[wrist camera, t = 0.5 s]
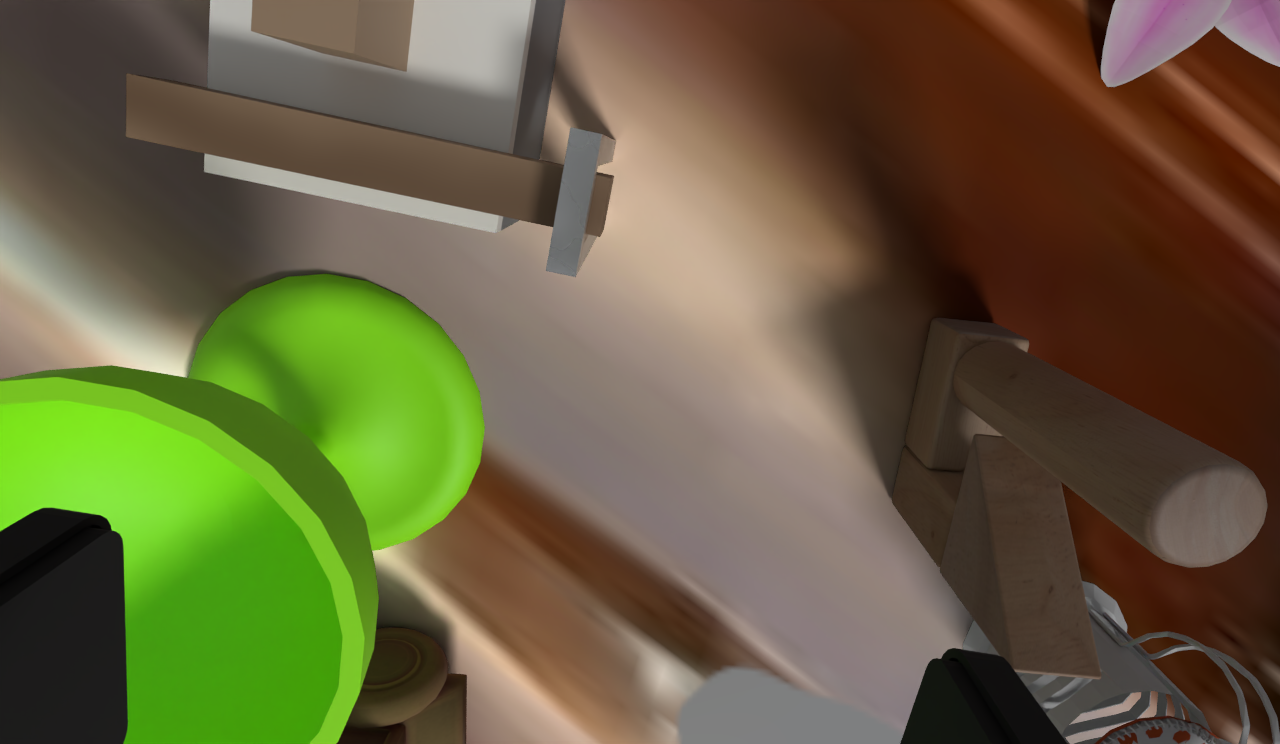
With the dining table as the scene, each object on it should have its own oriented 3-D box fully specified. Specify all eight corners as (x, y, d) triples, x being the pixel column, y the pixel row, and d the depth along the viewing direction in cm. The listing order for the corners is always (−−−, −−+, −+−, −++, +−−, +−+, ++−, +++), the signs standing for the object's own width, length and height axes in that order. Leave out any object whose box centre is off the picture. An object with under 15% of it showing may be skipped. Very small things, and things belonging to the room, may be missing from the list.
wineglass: (481, 279, 37) (344, 387, 20) (487, 555, 42) (380, 835, 25) (167, 267, 37) (-241, 366, 20) (208, 545, 42) (-95, 820, 25)
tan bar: (173, 80, 26) (126, 73, 24) (613, 176, 27) (611, 178, 25) (172, 138, 27) (126, 136, 24) (603, 229, 28) (600, 237, 25)
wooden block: (887, 501, 41) (1066, 754, 24) (929, 315, 38) (1168, 450, 21) (952, 508, 41) (1176, 764, 24) (998, 322, 38) (1294, 462, 21)
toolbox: (334, -159, 32) (134, -361, 19) (658, -82, 33) (668, -228, 20) (308, 173, 36) (130, 184, 23) (598, 234, 37) (575, 276, 24)
